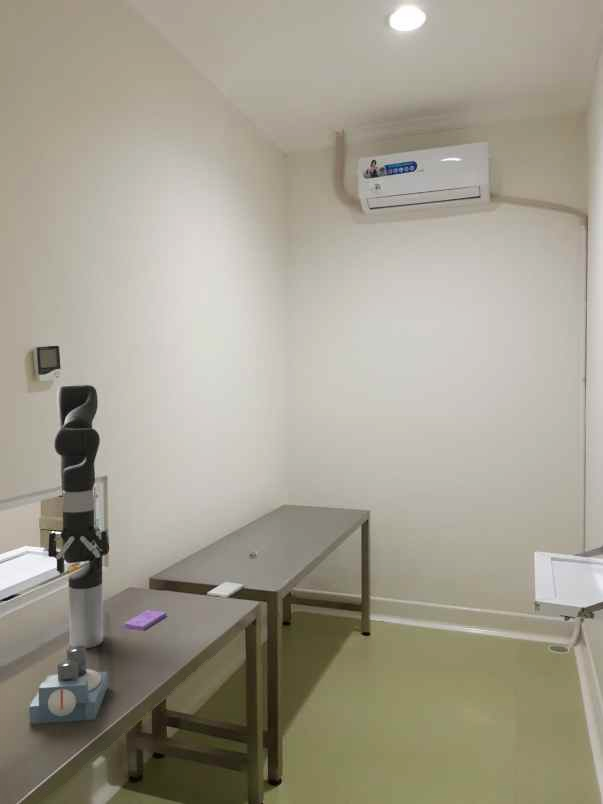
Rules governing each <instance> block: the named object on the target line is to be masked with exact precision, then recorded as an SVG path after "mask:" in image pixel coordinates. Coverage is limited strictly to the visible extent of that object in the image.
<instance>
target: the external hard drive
mask: <svg viewBox="0 0 603 804" xmlns="http://www.w3.org/2000/svg"><path fill="white" fill-rule="evenodd" d="M242 587H243V588H244V587H245V585H244V584H243V583H237V582H230V581H229V582H228V581H225V582H222V583H220V584H219V585H218V586H216V587H215V588H213V589H211V590H209V591H207V593H206V595H208V596H212V597H221V598H227V599H228V598H229V597H231V596H232V595H234V594H236V593H237V592H239V591H240V590H242V589H243V588H242Z"/></svg>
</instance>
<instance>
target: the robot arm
mask: <svg viewBox="0 0 603 804" xmlns="http://www.w3.org/2000/svg"><path fill="white" fill-rule="evenodd" d="M56 394H57V397H56V399H57V413H58V415H57V416H58V423H59V429H58V431H57V432H56V435H55V437H54V441H53V443H54V444H53V446H54V450H55V452H56V453H57V454H58V455H59V456H60V477H61V480H60V481H61V491H62V492H61V493H62V494H61V495H62V496H61V497H62V502H61V503H62V504H61V509H62V531H61V532H60V531H56V530H53V531H51V532H50V533H49V536H48V551H47V554H48V557H49V558H54V559H55V560H56V571H57V572H58V573H59V574H60V575H62V574H64V573H65V569H66V568H65V563H67V564H76V563H84V562H87V563H86V564H85V566H83V567H81V568H80V569H78V570H77V571H75V572H73V573H71V574H70V575H69V577H68V604H69V605H68V607H69V609H68V614H69V616H68V617H69V646H70V647H73V646H85V647H86V649H91V648H95V647H97V646H100V645H101V644H102V643H103V641H104V615H103V614H104V612H103V611H104V605H103V603H104V602H103V601H104V599H103V596H104V595H103V558H104V557H103V556H106V555H108V553H109V551H110V541H109V539H110V538H109V529H107V528H104V529H103V530H101V529H100V528H98V527H96V526H95V525H96V523H95V496H94V486H95V483H96V477H95V476H96V475H95V473H96V472H95V471H96V470H95V461H96V458H97V457H96V456H97V455H98V451H99V446H100V440H101V439H100V435H99V432H98V431H97V430H96V429H95V428H93V420H94V419H95V416H96V414H97V411H98V401H99V400H98V392H97V390H96V388H95V386H93V385H90V384H77V385H76V384H74V385H69V384H68V385H66V384H65V385H61V386H59V387H58V390H57V393H56ZM60 538H61V539H62V547H61V549H60V550H59V551H58V550H57V542H58V540H59V539H60Z"/></svg>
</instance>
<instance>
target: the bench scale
mask: <svg viewBox="0 0 603 804" xmlns="http://www.w3.org/2000/svg"><path fill="white" fill-rule="evenodd" d="M107 689H108V671H96V670H93V669H88V668H86V674H85V675H83V676H81V677H78V681H62V682H58V673H57V674H48V675H47V677H46V678H45V680H44V681H43V682H41V683H40V685H39V687H38V692H37V693H36V695H35V697H34V698H33V700H32V702H31V703H30V705H29V725H38V724H41V725H42V724H52V723H55V724H56V723H67V722H80V721H81V722H82V721H94V720H96V717H97V716H98V713H99V711H100V708H101V706H102V702H103V699H104V697H105V695H106V693H107Z"/></svg>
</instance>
